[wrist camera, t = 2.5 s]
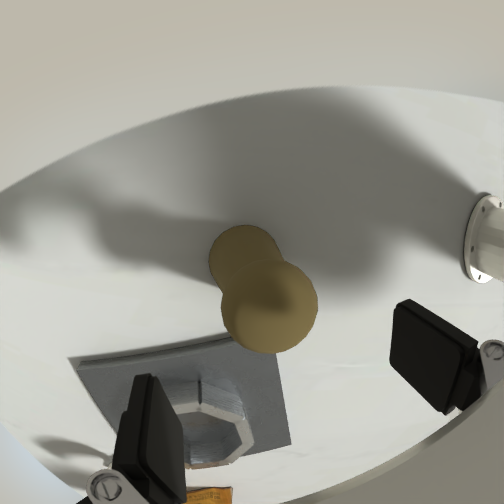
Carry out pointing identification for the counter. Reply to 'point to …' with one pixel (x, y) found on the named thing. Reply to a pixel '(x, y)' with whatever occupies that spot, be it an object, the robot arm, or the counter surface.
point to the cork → (261, 291)
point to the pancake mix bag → (210, 496)
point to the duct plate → (205, 368)
